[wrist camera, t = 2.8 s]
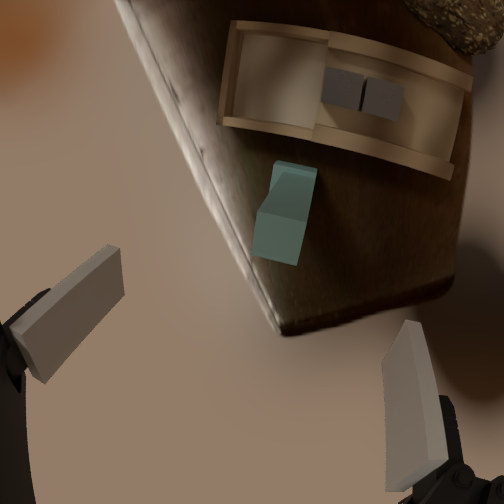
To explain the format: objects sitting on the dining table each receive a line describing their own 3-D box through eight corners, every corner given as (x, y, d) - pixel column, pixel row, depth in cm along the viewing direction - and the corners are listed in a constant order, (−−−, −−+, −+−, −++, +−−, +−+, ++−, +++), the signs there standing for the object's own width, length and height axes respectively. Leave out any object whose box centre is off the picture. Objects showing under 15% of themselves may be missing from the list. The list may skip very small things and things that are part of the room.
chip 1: (321, 102, 24) (320, 101, 22) (326, 70, 23) (326, 66, 20) (354, 109, 24) (358, 110, 21) (360, 78, 23) (364, 75, 20)
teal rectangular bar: (317, 168, 29) (308, 214, 18) (309, 206, 31) (294, 272, 20) (277, 160, 30) (242, 200, 19) (270, 197, 32) (234, 257, 21)
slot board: (458, 78, 21) (473, 77, 18) (438, 172, 26) (450, 180, 23) (240, 27, 24) (229, 19, 21) (227, 121, 29) (215, 124, 26)
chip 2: (358, 110, 24) (361, 111, 21) (364, 79, 22) (368, 76, 20) (390, 119, 24) (397, 122, 21) (396, 88, 22) (404, 87, 19)
